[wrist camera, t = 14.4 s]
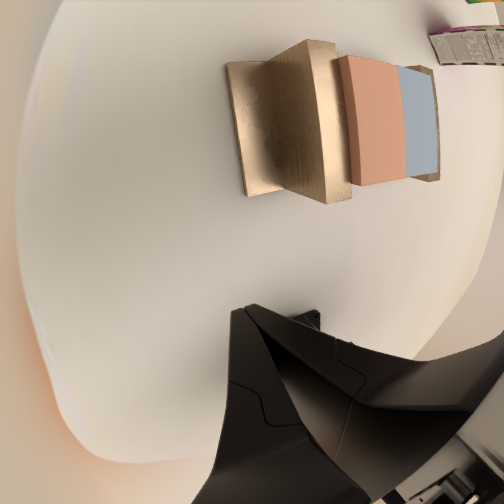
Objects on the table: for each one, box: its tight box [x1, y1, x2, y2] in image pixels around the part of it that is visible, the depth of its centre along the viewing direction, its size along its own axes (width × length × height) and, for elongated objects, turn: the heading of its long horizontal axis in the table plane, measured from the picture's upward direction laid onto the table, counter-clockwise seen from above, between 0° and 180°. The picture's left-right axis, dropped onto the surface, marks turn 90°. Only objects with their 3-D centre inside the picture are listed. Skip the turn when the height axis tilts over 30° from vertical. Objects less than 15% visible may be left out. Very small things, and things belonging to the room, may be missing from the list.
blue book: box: [395, 65, 437, 177], centre depth 18 cm, size 8×4×7 cm, turn 7°
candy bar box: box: [428, 25, 504, 66], centre depth 14 cm, size 11×5×16 cm, turn 122°
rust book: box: [338, 55, 406, 186], centre depth 17 cm, size 8×4×7 cm, turn 6°
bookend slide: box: [225, 39, 352, 204], centre depth 16 cm, size 10×5×6 cm, turn 7°
